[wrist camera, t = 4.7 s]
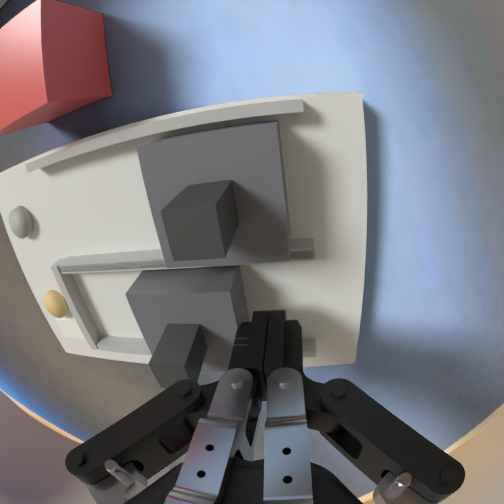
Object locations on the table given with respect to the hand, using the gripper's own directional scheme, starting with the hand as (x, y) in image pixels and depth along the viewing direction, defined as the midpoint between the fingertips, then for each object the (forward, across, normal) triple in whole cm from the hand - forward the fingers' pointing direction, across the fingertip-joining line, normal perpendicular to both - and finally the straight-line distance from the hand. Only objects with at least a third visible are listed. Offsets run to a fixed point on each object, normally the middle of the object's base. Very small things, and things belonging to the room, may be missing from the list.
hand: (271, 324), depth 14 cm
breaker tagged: (+2, +4, 0) cm, 4 cm away
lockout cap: (+3, +9, -14) cm, 17 cm away
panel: (+3, +6, -2) cm, 7 cm away
